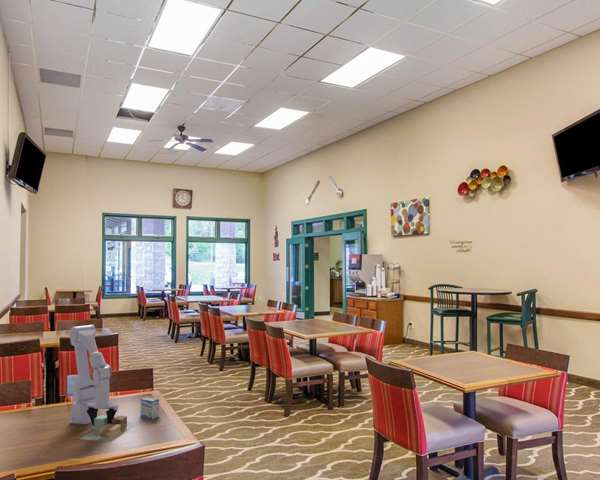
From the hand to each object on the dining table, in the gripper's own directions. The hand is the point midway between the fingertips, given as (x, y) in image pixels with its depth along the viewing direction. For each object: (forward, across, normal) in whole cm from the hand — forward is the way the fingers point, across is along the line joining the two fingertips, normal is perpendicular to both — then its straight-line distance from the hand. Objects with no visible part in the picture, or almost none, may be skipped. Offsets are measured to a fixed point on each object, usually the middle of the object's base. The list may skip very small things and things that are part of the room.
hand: (102, 425), depth 205 cm
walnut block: (+2, +8, +1) cm, 8 cm away
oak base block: (+2, +8, -6) cm, 10 cm away
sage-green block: (+2, 0, 0) cm, 2 cm away
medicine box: (+2, +13, +18) cm, 22 cm away
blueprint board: (+2, +5, -1) cm, 5 cm away
